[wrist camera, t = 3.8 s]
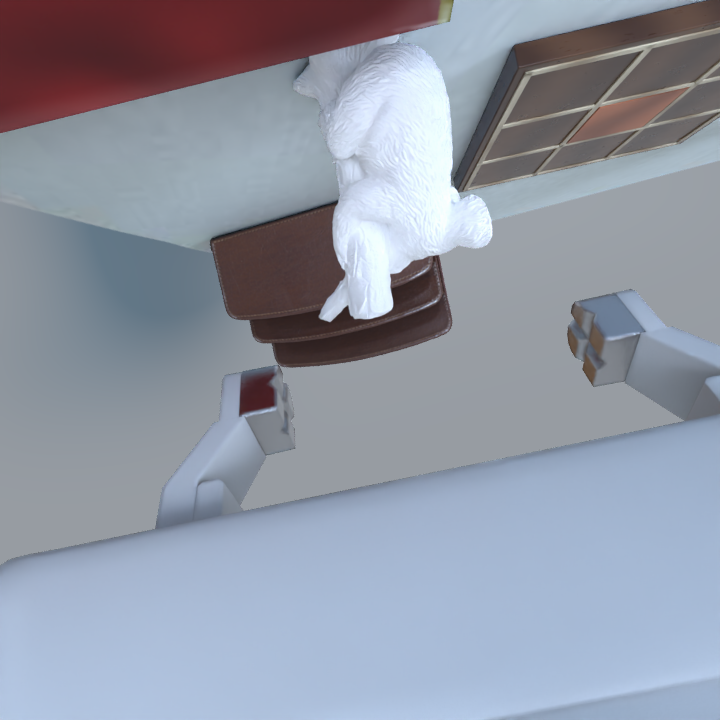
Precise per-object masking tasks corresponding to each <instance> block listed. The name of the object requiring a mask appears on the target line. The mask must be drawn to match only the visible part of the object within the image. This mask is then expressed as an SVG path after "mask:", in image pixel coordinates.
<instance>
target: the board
mask: <svg viewBox="0 0 720 720" xmlns="http://www.w3.org/2000/svg"><path fill="white" fill-rule="evenodd" d="M719 117H720V0H707V1H703V2H698V3H694V4H690V5H685V6H681V7H677V8H672V9H668V10H664V11H659V12H655V13H651V14H646V15H642V16H638V17H634V18H629V19H625V20H621V21H616V22H612V23H608V24H603V25H599V26H595V27H590V28H586V29H582V30H578V31H573V32H569V33H565V34H560V35H556V36H552V37H547V38H543V39H539V40H534V41H530V42H526V43H522V44H517V45H514V46H513V48H512V51H511V53H510V55H509V57H508V60H507V62H506V64H505V66H504V69H503V71H502V73H501V75H500V78H499V80H498V82H497V84H496V87H495V89H494V91H493V93H492V96H491V98H490V100H489V102H488V105H487V107H486V109H485V111H484V114H483V116H482V118H481V120H480V123H479V125H478V127H477V129H476V132H475V134H474V136H473V138H472V141H471V143H470V145H469V147H468V150H467V152H466V154H465V156H464V158H463V161H462V163H461V165H460V167H459V170H458V172H457V174H456V176H455V179H454V185H455V189H456V190H457V191H458V193H459V192H464V191H468V190H473V189H477V188H482V187H486V186H491V185H496V184H500V183H505V182H509V181H514V180H518V179H523V178H527V177H532V176H536V175H541V174H545V173H550V172H554V171H559V170H563V169H568V168H573V167H577V166H582V165H586V164H591V163H595V162H600V161H604V160H609V159H613V158H618V157H622V156H627V155H631V154H636V153H640V152H645V151H650V150H654V149H659V148H663V147H668V146H672V145H677V144H681V143H682V142H684V141H685V140H687V139H688V138H689V137H691V136H692V135H694V134H695V133H697V132H698V131H700V130H701V129H703V128H704V127H706V126H707V125H709V124H710V123H712V122H713V121H715V120H716V119H717V118H719Z"/></svg>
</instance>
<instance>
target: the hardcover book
mask: <svg viewBox="0 0 720 720" xmlns="http://www.w3.org/2000/svg"><path fill="white" fill-rule="evenodd" d="M453 1H454V0H0V133H3V132H7V131H11V130H15V129H19V128H23V127H27V126H31V125H35V124H39V123H43V122H47V121H52V120H56V119H60V118H64V117H68V116H72V115H76V114H80V113H84V112H88V111H92V110H96V109H100V108H104V107H108V106H112V105H116V104H120V103H124V102H128V101H132V100H136V99H140V98H144V97H148V96H152V95H156V94H160V93H164V92H168V91H172V90H176V89H180V88H184V87H188V86H192V85H196V84H200V83H204V82H208V81H212V80H216V79H220V78H224V77H228V76H232V75H236V74H241V73H245V72H249V71H253V70H257V69H261V68H265V67H269V66H273V65H277V64H281V63H285V62H289V61H293V60H297V59H301V58H305V57H309V56H313V55H317V54H321V53H325V52H329V51H333V50H337V49H341V48H345V47H349V46H353V45H357V44H361V43H365V42H369V41H373V40H377V39H381V38H385V37H389V36H393V35H397V34H401V33H405V32H409V31H413V30H417V29H421V28H425V27H430V26H434V25H438V24H442V23H446V22H450V17H451V12H452V7H453Z"/></svg>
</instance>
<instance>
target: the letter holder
mask: <svg viewBox="0 0 720 720" xmlns="http://www.w3.org/2000/svg"><path fill="white" fill-rule="evenodd" d="M337 204H338V202H336V203H332V204H329V205H325V206H322V207H318V208H316V209H311V210H309V211H305V212H302V213H298V214H295V215H292V216H289V217H286V218H282V219H279V220H275V221H272V222H268V223H265V224H262V225H258V226H254V227H251V228H248V229H244V230H240V231H237V232H234V233H230V234H227V235H223V236H220V237H216V238H212V239H211V240H210V246H211V250H212V252H213V256H214V260H215V264H216V269H217V273H218V277H219V282H220V286H221V290H222V295H223V299H224V304H225V308H226V311H227V313H228V315H229V316H230V317H232V318H234V319H238V320H250V325H251V330H252V334H253V337H254V338H255V340H256V341H257V342H260V343H272V346H273V351H274V356H275V359H276V361H277V363H278V364H279V365H280V366H283V367H306V366H320V365H330V364H337V363H345V362H351V361H357V360H362V359H366V358H370V357H375V356H378V355H383V354H386V353H390V352H393V351H398V350H401V349H404V348H407V347H411V346H414V345H417V344H420V343H423V342H426V341H428V340H431V339H434V338H437V337H439V336H441V335H444V334H446V333H447V332H448V331H449V330H450V329H451V326H452V317H451V311H450V306H449V303H448V298H447V293H446V288H445V284H444V278H443V273H442V268H441V263H440V258H439V255H435V256H428V257H426V258H424V259H419V260H414V261H412V262H411V263H410V264H409V265H408V266H407V267H406V268H404V269H403V270H402V271H401V272H399V273H396V274H390V277H391V285H390V288H391V294H392V298H393V308H392V310H391V311H389V312H388V313H386V314H385V315H382V316H379V317H375V318H372V319H354V317H353V316H351V315H350V311H349V306H348V305H347V306H346V307H345V308H343V310H342V311H341V313H339V314H338V315H337V316H336V317H335V318H334V319H333V320H332V321H331V322H328V321H325V320H323V319H320V318H319V315H320V313H321V309H322V307H323V306H324V304H325V302H326V300H327V299H328V297H330V296H331V295H332V293H334V292H335V290H336V288H337V287H338V285H339V283H340V281H343V279H344V278H345V274H346V273H345V270H344V269H342V267H341V265H340V263H339V261H338V258H337V255H336V252H335V250H334V245H333V233H332V232H333V230H332V227H333V223H332V221H333V214H334V210H335V207H336V205H337Z"/></svg>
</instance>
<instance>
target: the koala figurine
mask: <svg viewBox="0 0 720 720" xmlns="http://www.w3.org/2000/svg"><path fill="white" fill-rule="evenodd" d="M399 36H400V34H397V35H393V36H389V37H385V38H381V39H377V40H373V41H369V42H365V43H361V44H357V45H353V46H349V47H345V48H341V49H337V50H333V51H329V52H325V53H321V54H317V55H313V56H309V63H310V64H309V65H308V66H307V67H306V68H305V70H304V71H303V72H302V73H301V75H300V76H299V77H298V78H297V79H296V80H295V81H294V82H293V88H294V90H295V91H296V92H298V93H299V94H302V95H304V96H307V97H311V98H312V97H313V98H316V99H317V100H318V101H319V104H320V107H321V108H320V109H321V111H320V113H319V120H318V126H319V127H320V128H321V133H322V135H323V139H324V140H326V142H327V148H328V150H329V151H330V153H331V154H332V155H333V157H332V163H333V164H337V166H336V170H337V179H338V183H339V194H340V197H339V202H338V204H337V205H336V207H335V210H334V214H333V221H332V223H333V227H332V230H333V232H332V233H333V245H334V250H335V252H336V255H337V258H338V261H339V263H340V265H341V267H342V269H344V270H345V273H346V274H345V278H344V279H343V281H340V283H339V285H338V287H337V288H336V290H335V292H334V293H332V295H331V296H330V297H328V299H327V300H326V302H325V304H324V306H323V307H322V309H321V313H320V315H319V318H320V319H323V320H325V321H328V322H331V321H332V320H333V319H334V318H335V317H336V316H337V315H338V314H339V313H341V311H342V310H343V308H345V307H346V306H347V305H348V306H349V311H350V315H351V316H353V317H354V319H372V318H375V317H379V316H382V315H385V314H386V313H388V312H389V311H391V310H392V308H393V298H392V294H391V288H390V285H391V277H390V274H396V273H399V272H401V271H402V270H403V269H404V268H406V267H407V266H408V265H409V264H410V263H411V262H412V261H414V260H419V259H424V258H426V257H428V256H435V255H440V254H443V253H445V252H448V251H450V250H451V249H453V248H455V247H457V246H458V245H459V246H464V247H470V248H474V249H477V248H480V247H484V246H486V245H487V244H488V243H489V242H490V239H491V237H492V225H491V218H490V216H489V212H488V211H487V210H488V208H487V207H486V205H485V202H483V201H482V199H481V198H480V197H478V196H475V195H473V194H472V195H468V196H466V197H464V198H463V199H462V200H460V196H459V193H458V191H457V190H456V189H455V188H454V187H452V186H451V176H450V175H451V173H450V172H451V170H452V166H453V159H452V151H453V146H452V133H451V116H450V105H449V97H448V95H447V92H446V87H445V84H444V81H443V78H442V75H441V70H440V69H438V68H437V65H436V64H435V62H434V60H433V58H432V57H430V56H429V55H427V53H426V52H425V50H424V49H421V48H420V47H416V46H415V45H413V44H409V43H401V42H399V43H396V42H397V41H398V39H399Z"/></svg>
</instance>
